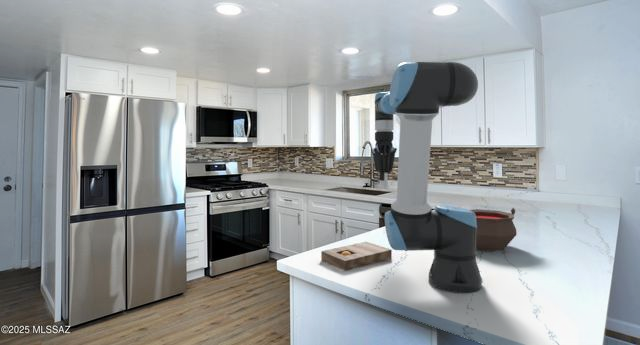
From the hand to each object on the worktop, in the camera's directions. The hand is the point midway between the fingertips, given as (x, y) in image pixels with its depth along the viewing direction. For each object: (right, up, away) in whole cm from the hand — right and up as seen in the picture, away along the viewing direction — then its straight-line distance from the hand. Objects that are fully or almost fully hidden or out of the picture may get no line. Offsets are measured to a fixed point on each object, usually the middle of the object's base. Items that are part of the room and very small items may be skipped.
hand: (384, 188), depth 148 cm
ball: (-17, -24, -19) cm, 35 cm away
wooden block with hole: (-13, -26, -16) cm, 33 cm away
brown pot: (+42, -24, 0) cm, 49 cm away
